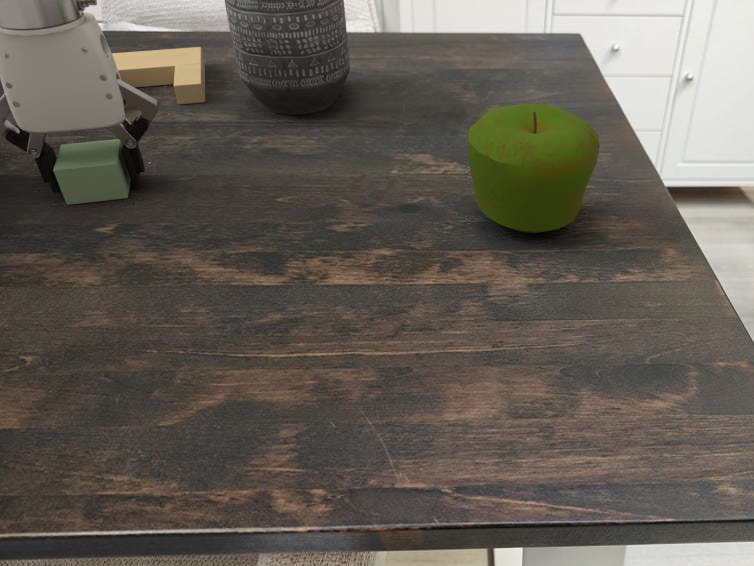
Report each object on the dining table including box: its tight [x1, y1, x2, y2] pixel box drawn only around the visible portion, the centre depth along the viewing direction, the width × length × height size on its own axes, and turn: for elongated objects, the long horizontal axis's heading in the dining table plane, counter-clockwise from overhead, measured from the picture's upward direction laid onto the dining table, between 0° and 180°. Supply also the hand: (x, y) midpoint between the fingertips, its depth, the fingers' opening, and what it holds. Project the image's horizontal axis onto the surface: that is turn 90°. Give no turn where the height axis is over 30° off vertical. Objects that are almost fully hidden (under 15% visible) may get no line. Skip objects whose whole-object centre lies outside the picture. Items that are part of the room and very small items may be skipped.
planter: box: [224, 0, 351, 116], centre depth 94 cm, size 14×14×15 cm
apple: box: [467, 103, 601, 234], centre depth 73 cm, size 12×12×11 cm
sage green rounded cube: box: [53, 138, 131, 206], centre depth 79 cm, size 6×6×4 cm
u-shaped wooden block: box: [111, 46, 206, 105], centre depth 100 cm, size 14×14×2 cm
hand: (98, 181), depth 80 cm, fingers open, 7 cm apart
